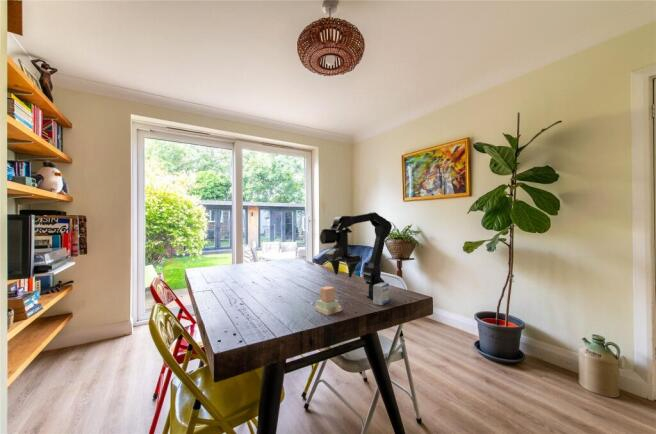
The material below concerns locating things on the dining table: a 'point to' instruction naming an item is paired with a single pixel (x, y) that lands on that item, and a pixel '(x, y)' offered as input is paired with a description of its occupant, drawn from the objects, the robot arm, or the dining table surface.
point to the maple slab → (329, 310)
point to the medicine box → (381, 293)
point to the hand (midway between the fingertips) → (343, 275)
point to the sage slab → (327, 304)
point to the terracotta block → (327, 294)
